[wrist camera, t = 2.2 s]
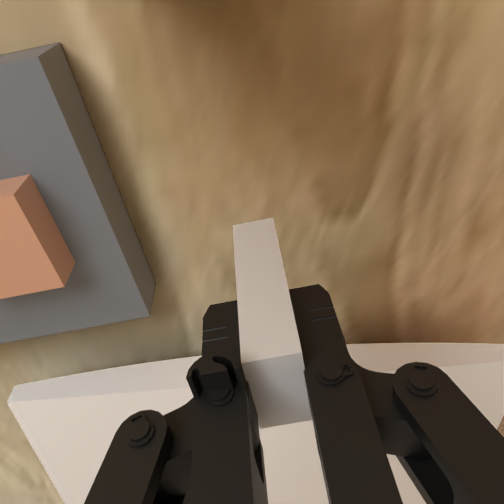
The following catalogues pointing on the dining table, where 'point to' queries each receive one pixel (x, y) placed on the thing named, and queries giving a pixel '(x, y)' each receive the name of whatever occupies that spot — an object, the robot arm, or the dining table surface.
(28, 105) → the slate board
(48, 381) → the board
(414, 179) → the dining table surface
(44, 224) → the tile terracotta
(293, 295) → the robot arm
